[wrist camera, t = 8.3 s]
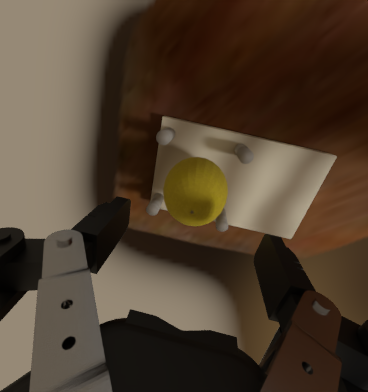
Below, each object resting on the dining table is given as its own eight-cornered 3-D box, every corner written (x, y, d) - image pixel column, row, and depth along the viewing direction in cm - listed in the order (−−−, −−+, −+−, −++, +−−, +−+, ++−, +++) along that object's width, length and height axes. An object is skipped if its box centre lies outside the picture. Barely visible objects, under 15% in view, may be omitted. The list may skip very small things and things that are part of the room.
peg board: (328, 152, 20) (359, 164, 16) (286, 231, 24) (302, 257, 20) (165, 115, 20) (155, 118, 16) (152, 200, 24) (141, 219, 20)
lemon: (184, 139, 19) (170, 159, 12) (233, 163, 20) (249, 196, 12) (164, 186, 22) (142, 226, 14) (208, 206, 22) (210, 255, 15)
